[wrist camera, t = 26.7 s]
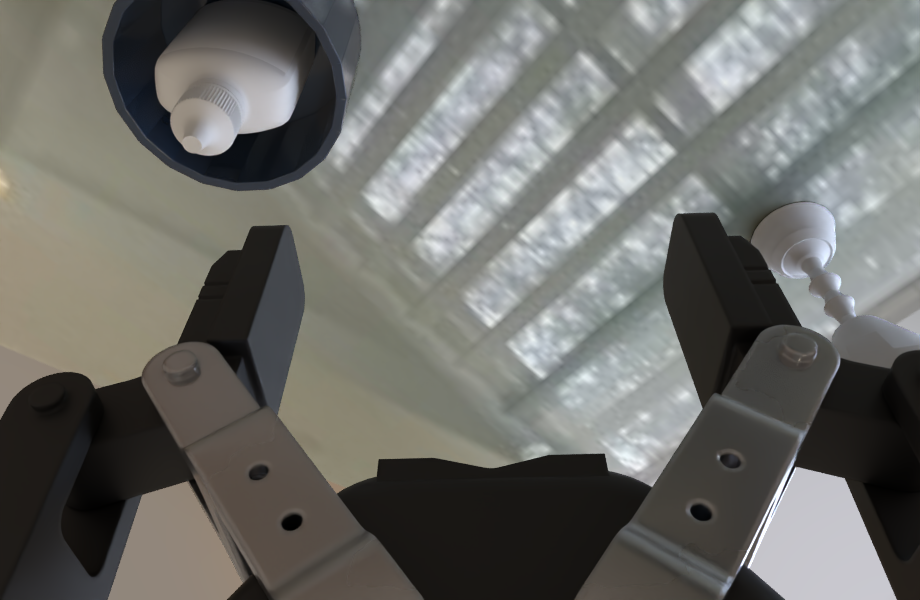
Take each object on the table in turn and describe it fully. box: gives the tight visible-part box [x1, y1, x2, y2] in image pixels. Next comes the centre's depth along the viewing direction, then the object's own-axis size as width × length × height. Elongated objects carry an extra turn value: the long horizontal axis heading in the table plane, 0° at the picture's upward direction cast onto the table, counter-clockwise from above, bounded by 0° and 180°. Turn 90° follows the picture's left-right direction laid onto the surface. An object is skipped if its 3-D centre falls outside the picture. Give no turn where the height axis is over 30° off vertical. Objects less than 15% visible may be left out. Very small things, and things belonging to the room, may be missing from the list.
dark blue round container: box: [102, 0, 361, 191], centre depth 33 cm, size 10×10×7 cm
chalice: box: [751, 202, 920, 369], centre depth 37 cm, size 7×7×18 cm
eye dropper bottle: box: [155, 0, 315, 156], centre depth 31 cm, size 4×6×12 cm
